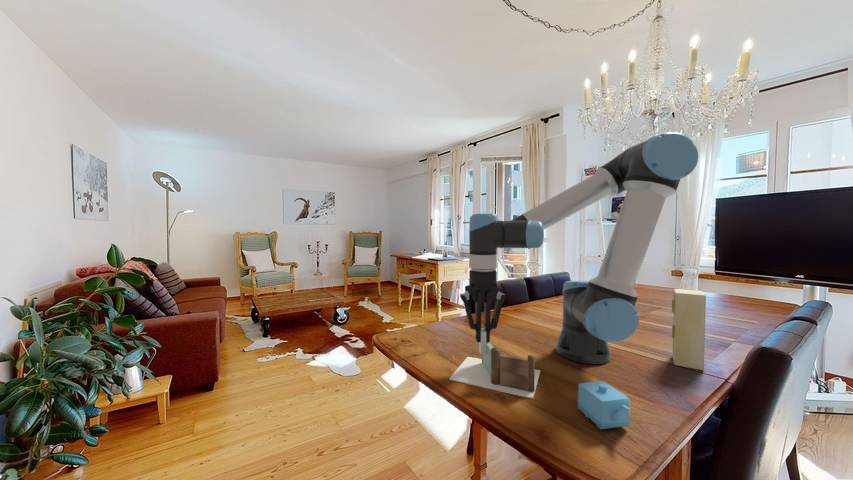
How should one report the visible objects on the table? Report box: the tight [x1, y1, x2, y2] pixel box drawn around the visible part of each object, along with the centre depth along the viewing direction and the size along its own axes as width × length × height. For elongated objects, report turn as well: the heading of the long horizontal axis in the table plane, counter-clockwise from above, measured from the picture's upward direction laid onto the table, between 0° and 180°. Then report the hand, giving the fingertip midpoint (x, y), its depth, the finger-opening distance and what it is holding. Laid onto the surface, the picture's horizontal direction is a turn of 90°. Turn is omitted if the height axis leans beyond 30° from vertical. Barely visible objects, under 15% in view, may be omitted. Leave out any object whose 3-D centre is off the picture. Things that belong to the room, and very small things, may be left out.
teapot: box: [577, 380, 632, 430], centre depth 64 cm, size 12×6×8 cm, turn 10°
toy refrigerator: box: [671, 288, 707, 371], centre depth 91 cm, size 8×7×21 cm
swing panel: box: [481, 341, 494, 376], centre depth 86 cm, size 10×2×8 cm, turn 4°
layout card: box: [448, 356, 541, 400], centre depth 84 cm, size 21×15×1 cm
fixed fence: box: [491, 347, 536, 392], centre depth 78 cm, size 11×2×9 cm, turn 64°
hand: (482, 352), depth 88 cm, fingers closed
